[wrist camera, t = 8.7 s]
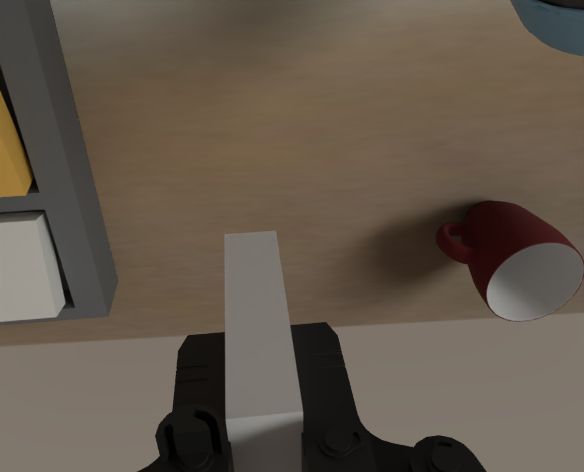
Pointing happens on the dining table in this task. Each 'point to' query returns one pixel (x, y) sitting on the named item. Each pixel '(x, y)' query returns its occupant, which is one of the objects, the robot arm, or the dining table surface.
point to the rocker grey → (28, 268)
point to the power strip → (54, 158)
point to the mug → (514, 260)
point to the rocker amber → (12, 158)
